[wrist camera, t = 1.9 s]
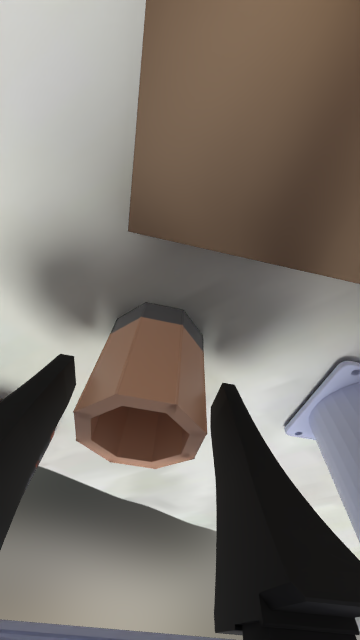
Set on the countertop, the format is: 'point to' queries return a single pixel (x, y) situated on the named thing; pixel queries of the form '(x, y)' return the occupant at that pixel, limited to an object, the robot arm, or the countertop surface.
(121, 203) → the countertop surface
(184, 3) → the pin board
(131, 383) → the sleeve
